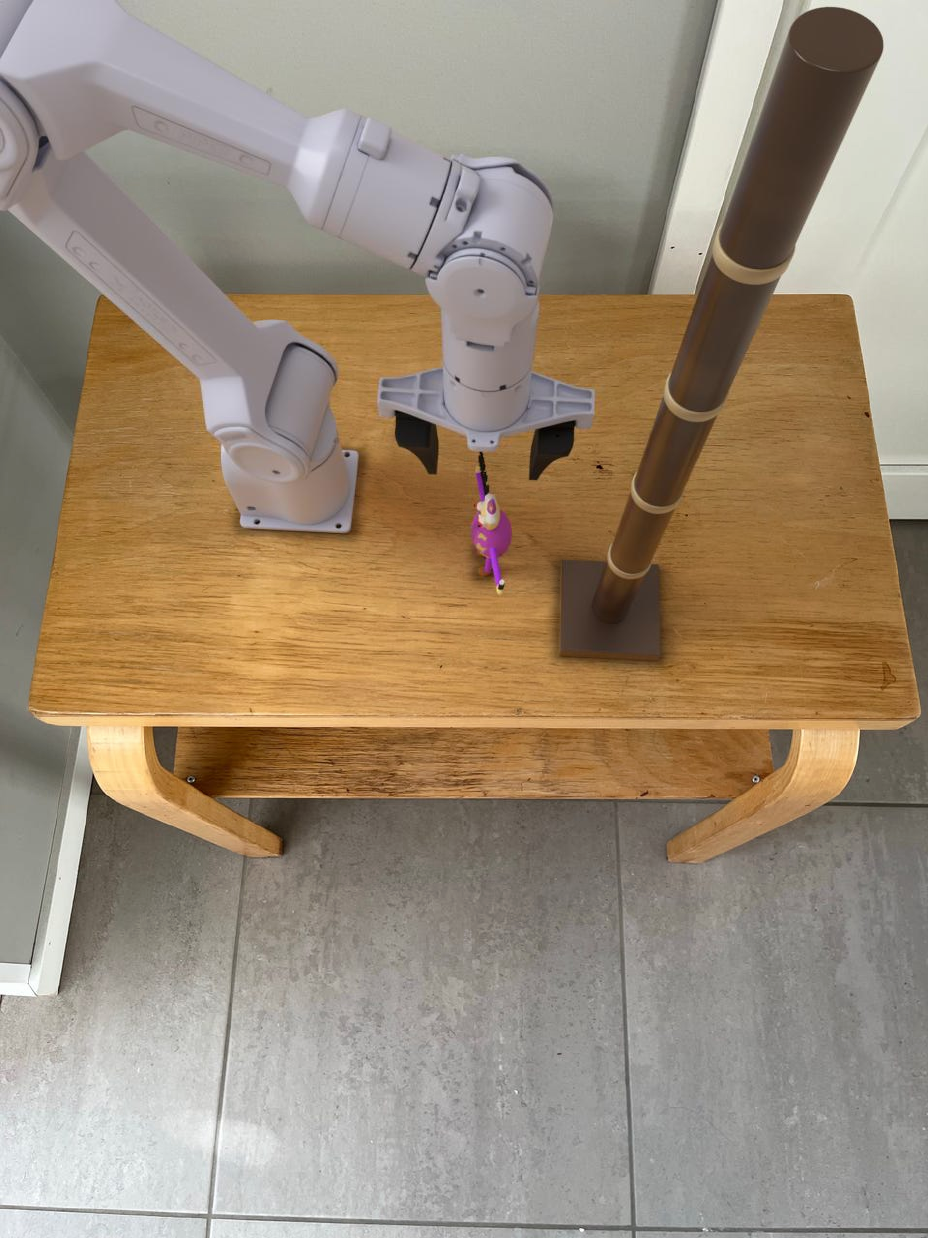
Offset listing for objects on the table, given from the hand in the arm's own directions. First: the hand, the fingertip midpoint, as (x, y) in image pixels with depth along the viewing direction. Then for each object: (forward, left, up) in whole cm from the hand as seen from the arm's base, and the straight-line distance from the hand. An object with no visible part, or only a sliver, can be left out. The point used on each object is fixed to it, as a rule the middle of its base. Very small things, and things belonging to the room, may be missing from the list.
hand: (483, 465), depth 70 cm
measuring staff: (+11, -8, -10) cm, 16 cm away
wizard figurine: (+1, -4, -10) cm, 11 cm away
